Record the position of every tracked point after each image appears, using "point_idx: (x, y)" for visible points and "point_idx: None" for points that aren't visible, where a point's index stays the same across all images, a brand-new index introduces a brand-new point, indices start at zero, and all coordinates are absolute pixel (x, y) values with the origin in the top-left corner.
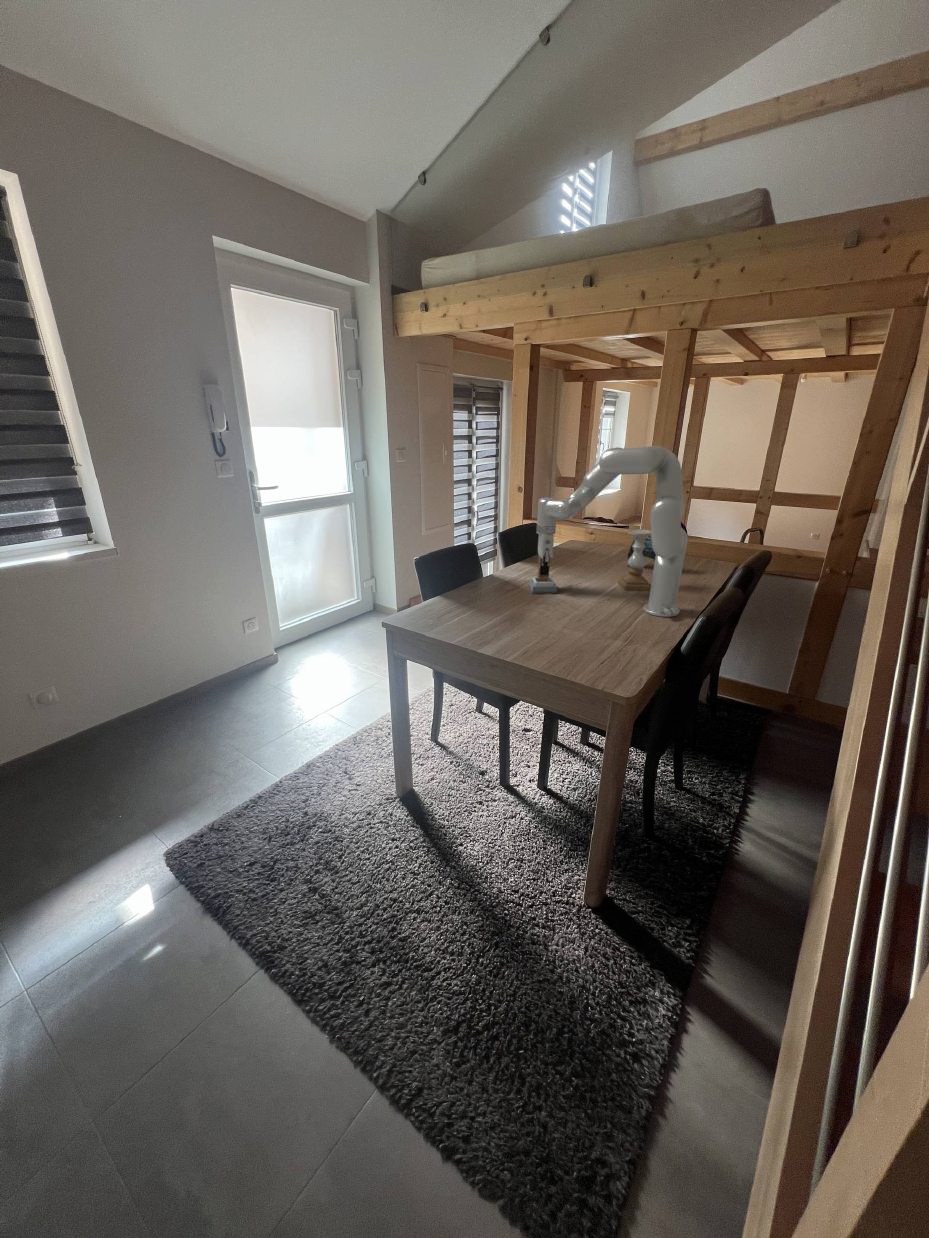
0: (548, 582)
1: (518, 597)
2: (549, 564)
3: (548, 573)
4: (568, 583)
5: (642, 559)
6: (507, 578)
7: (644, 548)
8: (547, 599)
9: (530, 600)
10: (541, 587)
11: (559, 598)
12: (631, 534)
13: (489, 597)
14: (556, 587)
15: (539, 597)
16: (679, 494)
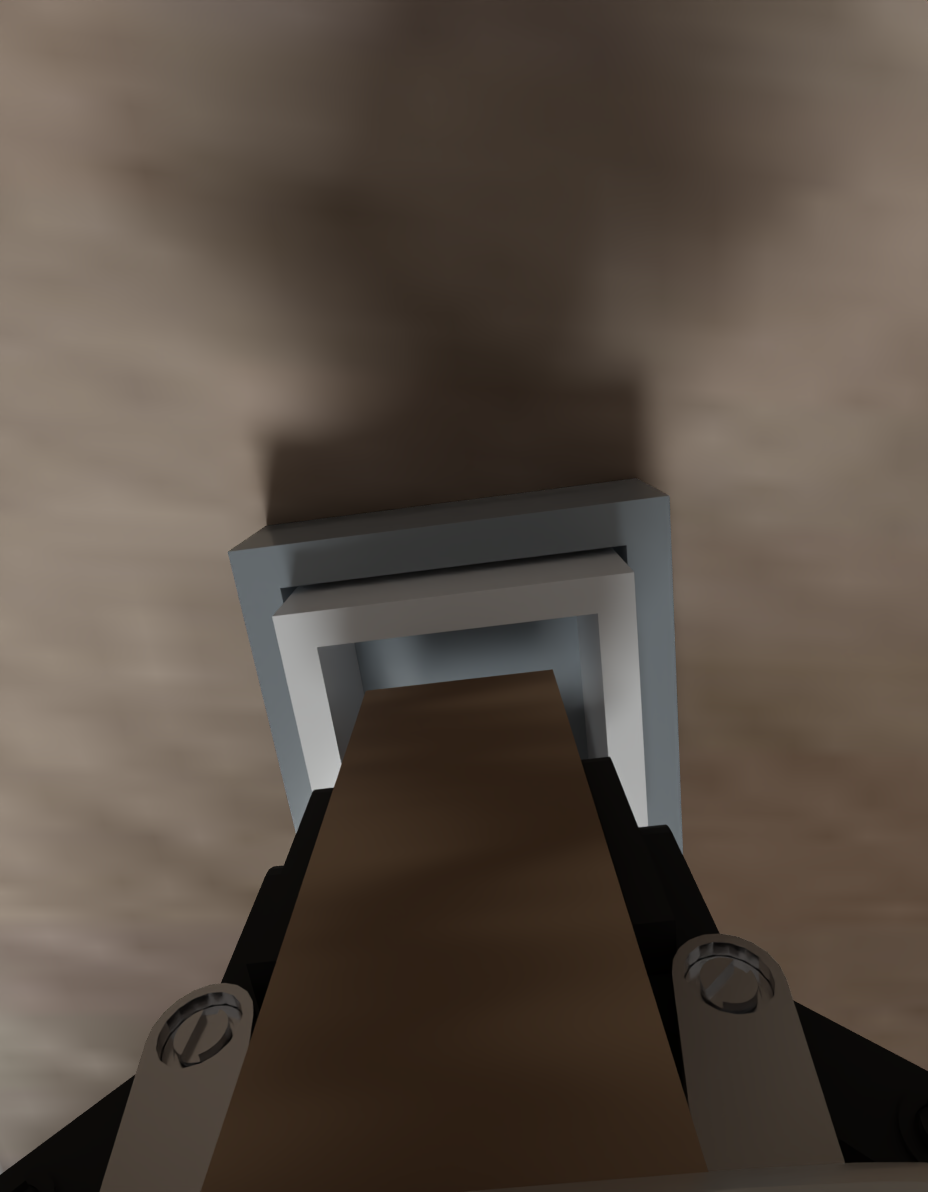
0: (639, 670)
1: (783, 946)
2: (628, 921)
3: (577, 755)
4: (33, 218)
5: None
6: (49, 1056)
7: None
8: (885, 622)
9: (905, 826)
10: (674, 744)
11: (854, 447)
12: None
13: None
14: (666, 503)
15: (794, 720)
16: None
